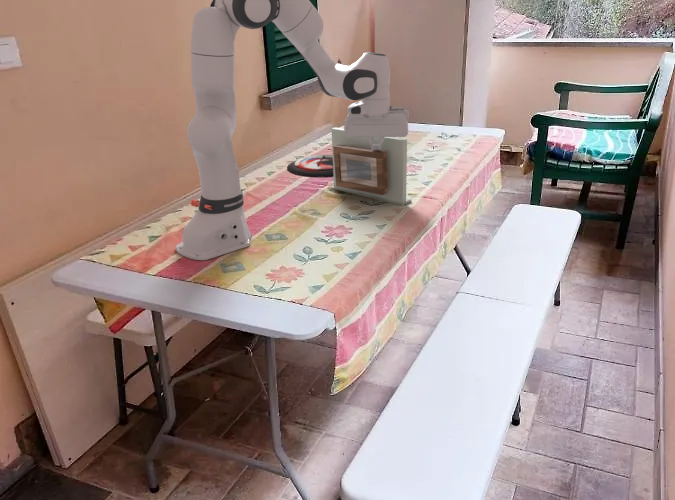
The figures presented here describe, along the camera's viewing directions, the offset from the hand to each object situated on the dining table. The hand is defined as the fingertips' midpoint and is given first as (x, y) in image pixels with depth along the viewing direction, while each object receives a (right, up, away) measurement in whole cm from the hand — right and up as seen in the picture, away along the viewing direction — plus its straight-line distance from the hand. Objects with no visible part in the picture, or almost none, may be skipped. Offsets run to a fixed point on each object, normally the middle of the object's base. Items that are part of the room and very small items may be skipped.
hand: (376, 150), depth 188 cm
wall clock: (-18, +1, +49) cm, 52 cm away
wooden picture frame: (-4, -11, +10) cm, 16 cm away
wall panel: (-2, -13, +15) cm, 20 cm away
